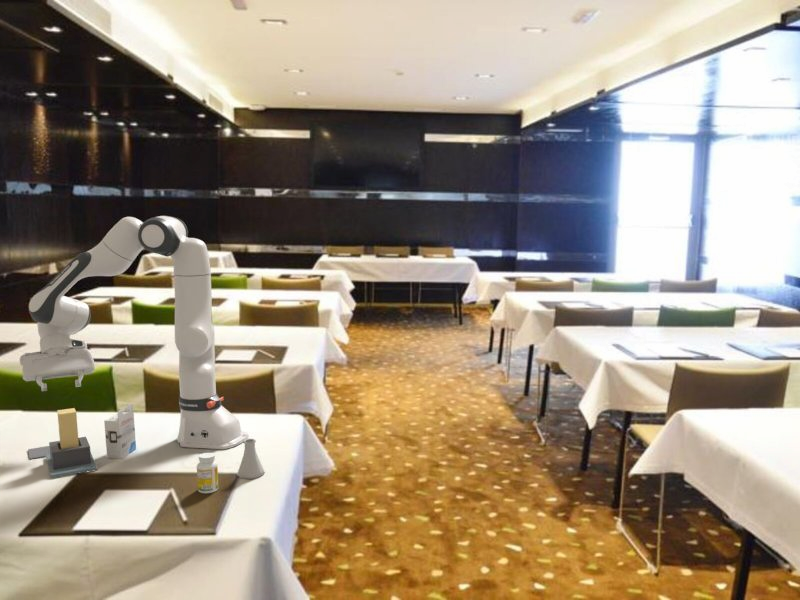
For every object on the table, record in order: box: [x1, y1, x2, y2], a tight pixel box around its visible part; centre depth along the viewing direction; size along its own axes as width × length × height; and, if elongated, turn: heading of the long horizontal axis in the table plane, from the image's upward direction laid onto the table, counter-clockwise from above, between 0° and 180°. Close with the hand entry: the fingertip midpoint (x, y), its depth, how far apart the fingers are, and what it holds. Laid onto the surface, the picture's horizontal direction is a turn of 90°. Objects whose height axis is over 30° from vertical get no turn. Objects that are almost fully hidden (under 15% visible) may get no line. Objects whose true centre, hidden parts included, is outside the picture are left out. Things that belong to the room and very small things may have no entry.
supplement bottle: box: [196, 452, 219, 494], centre depth 199 cm, size 5×5×10 cm
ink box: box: [104, 403, 137, 460], centre depth 227 cm, size 8×5×15 cm, turn 168°
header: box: [48, 436, 92, 470], centre depth 219 cm, size 10×10×5 cm
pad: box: [27, 445, 50, 460], centre depth 230 cm, size 9×9×1 cm
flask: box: [236, 438, 266, 480], centre depth 210 cm, size 7×7×10 cm
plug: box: [56, 407, 79, 449], centre depth 218 cm, size 5×5×14 cm
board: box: [45, 453, 98, 479], centre depth 220 cm, size 18×12×1 cm, turn 29°
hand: (61, 387), depth 227 cm, fingers open, 8 cm apart
